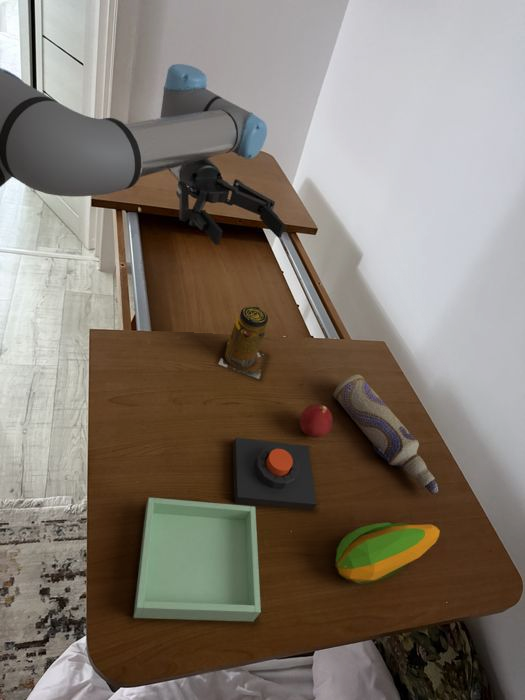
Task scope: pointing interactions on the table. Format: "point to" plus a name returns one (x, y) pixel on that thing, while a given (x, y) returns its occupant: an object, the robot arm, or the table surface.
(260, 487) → the button base
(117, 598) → the table surface
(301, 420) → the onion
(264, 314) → the condiment
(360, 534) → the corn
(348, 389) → the decorative bottle
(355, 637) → the table surface
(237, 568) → the mint green tray
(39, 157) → the robot arm
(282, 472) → the button
